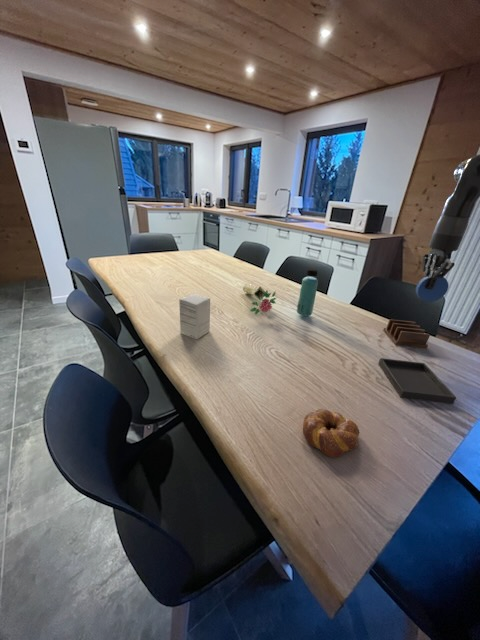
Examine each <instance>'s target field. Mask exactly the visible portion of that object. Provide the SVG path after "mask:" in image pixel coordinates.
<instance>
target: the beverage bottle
mask: <svg viewBox="0 0 480 640" xmlns="http://www.w3.org/2000/svg"><path fill="white" fill-rule="evenodd" d="M305 275H307V276H305V277H303V278H302V280H301V285H300V286H301V287H300V289H299V290H300V291H299V298H298V302H297V306H296V307H297V308H296V313H297V314H298V315H300V316H303V317H310V316H312V315H313V312H314V310H313V309H314V307H315V301H316V295H317V290H318V286H319V285H318V284H319V280H318V279H317V278H316V277H317V276H318V270H317V269H315V268H307V269H306V273H305Z"/></svg>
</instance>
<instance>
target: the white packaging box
mask: <svg viewBox="0 0 480 640" xmlns="http://www.w3.org/2000/svg"><path fill="white" fill-rule="evenodd" d="M178 302H179V303H178V304H179V305H178V306H179V329H180V330H179V333H180V334H182V335H185V336H186V337H189V338H192V339H194V340H198V339H200V338H201V337H203V336H205V335H206V334H207V333H209V332H210V328H211V327H210V326H211V298H210V297H208V296H204V295H201V294H198V293H194V292H192V293H191V294H189V295H186V296H184V297H181V298H179V300H178Z"/></svg>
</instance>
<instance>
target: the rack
mask: <svg viewBox="0 0 480 640" xmlns="http://www.w3.org/2000/svg"><path fill="white" fill-rule="evenodd" d="M383 332H384V334H386V336H387V337H388V338H389V339H390V340H391V342H392V343H393V344H394V345H395V346H404V347H412V348H422V349H428V347H429V345H428V344H427V343H428V341H429V338H430V336H431V334H430V333H426V330H425V329H423V328H421V326H420V325H417V322H416V321H410V320H401V319H391V318H390V319H389V320H388V322H387V325H386V327H384V328H383Z"/></svg>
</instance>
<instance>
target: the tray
mask: <svg viewBox="0 0 480 640" xmlns="http://www.w3.org/2000/svg"><path fill="white" fill-rule="evenodd" d="M378 365H379V367H380V369H381V370H382V372H383V373H384V375H385V376H386V378H387V379H388V381H389V383H390V384H391V385H392V387H393V388H394V390H395V392H396V393H397V394H398V396H399V397H400V398H402V399H410V400H419V401H426V402H434V403H435V402H436V403H443V404H451V405H453V404H454V403H455V401H456V400H457V396H456V395H455V394H454V393H453V392H452V391H451V390H450V389H449V388H448V387H447V386H446V385H445V384H444V383H443V382H442V380H441V379H440V378H439V376H437V375H436V374H435V373H434V371H433V370H432V369H431V368H430V367H429V366H428V365H427V364H426V363H425V362H418V361H409V360H401V359H400V360H399V359H391V358H382V357H380V358H379V360H378Z"/></svg>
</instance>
